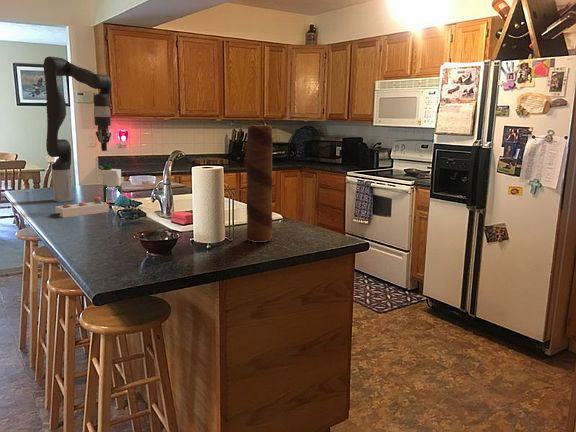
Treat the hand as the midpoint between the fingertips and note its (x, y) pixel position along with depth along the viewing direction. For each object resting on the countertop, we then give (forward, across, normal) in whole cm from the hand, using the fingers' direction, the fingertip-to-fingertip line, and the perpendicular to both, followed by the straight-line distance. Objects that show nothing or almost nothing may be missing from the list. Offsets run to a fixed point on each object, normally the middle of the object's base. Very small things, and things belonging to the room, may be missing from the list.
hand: (104, 150), depth 242 cm
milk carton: (+29, -10, +8) cm, 32 cm away
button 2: (+27, +8, -16) cm, 32 cm away
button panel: (+29, +8, -18) cm, 35 cm away
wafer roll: (+29, +102, +14) cm, 107 cm away
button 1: (+27, +8, -24) cm, 36 cm away
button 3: (+25, +8, -8) cm, 27 cm away
